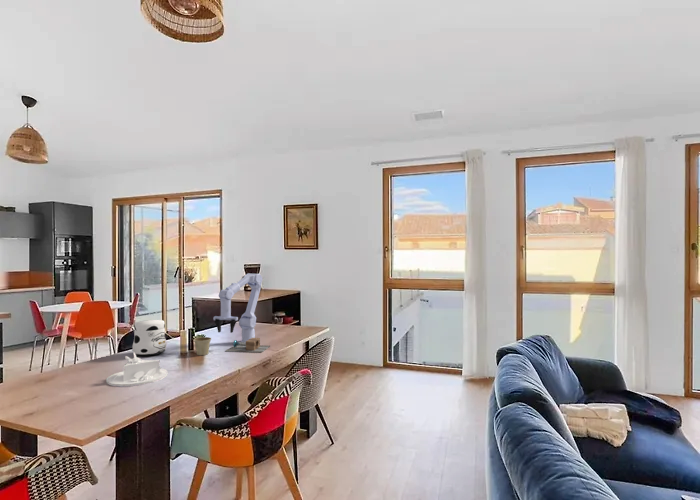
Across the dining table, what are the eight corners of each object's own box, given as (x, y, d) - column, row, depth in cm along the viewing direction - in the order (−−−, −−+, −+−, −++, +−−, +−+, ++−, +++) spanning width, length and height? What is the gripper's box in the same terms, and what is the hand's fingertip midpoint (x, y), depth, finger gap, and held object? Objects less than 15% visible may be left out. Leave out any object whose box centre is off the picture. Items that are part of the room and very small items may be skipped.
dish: (98, 389, 172) (98, 362, 172) (115, 372, 196) (115, 349, 196) (162, 384, 178) (162, 358, 178) (171, 368, 202) (171, 346, 202)
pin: (235, 346, 245) (236, 339, 245) (254, 346, 244) (254, 340, 244) (233, 347, 241) (233, 341, 241) (252, 348, 240) (252, 341, 240)
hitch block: (235, 345, 251) (235, 336, 251) (270, 346, 249) (270, 337, 249) (224, 351, 235) (224, 341, 235) (261, 352, 233) (261, 342, 233)
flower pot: (207, 356, 225) (207, 340, 225) (190, 356, 225) (190, 340, 225) (213, 352, 234) (213, 337, 234) (197, 352, 234) (197, 337, 235)
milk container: (165, 356, 226) (165, 323, 226) (130, 359, 219) (130, 325, 219) (167, 349, 242) (167, 318, 242) (134, 351, 235) (134, 320, 235)
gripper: (211, 310, 241) (211, 333, 240) (234, 310, 239) (234, 333, 239) (216, 308, 248) (216, 331, 247) (239, 309, 246) (239, 331, 246)
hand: (225, 332), depth 244 cm, fingers open, 7 cm apart
